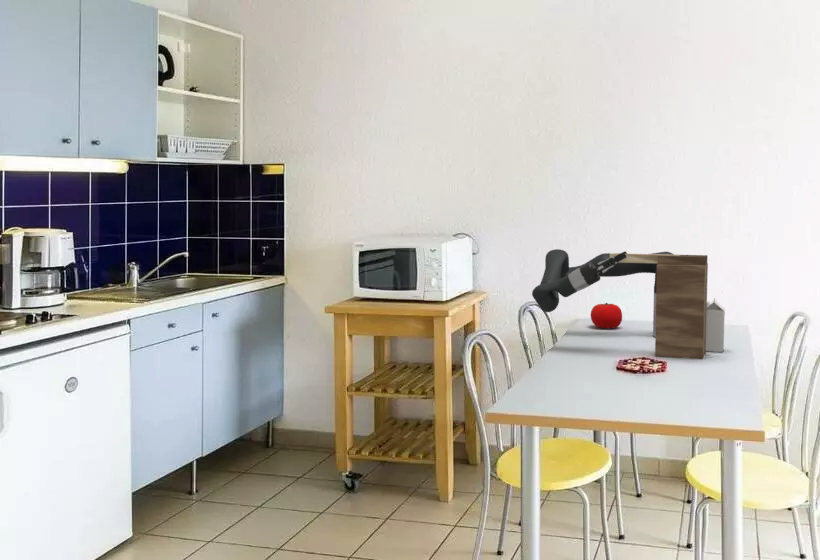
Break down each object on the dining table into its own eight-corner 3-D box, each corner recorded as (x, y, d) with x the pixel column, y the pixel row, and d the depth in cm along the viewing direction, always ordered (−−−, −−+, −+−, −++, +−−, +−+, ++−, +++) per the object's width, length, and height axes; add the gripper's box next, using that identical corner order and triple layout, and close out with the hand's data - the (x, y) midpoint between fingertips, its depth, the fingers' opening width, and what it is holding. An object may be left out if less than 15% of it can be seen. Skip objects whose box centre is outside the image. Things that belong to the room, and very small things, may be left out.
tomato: (625, 330, 406) (625, 305, 405) (593, 330, 406) (593, 305, 405) (618, 325, 420) (618, 300, 419) (587, 325, 420) (588, 301, 419)
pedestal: (659, 350, 357) (661, 253, 354) (705, 353, 352) (708, 254, 348) (655, 356, 346) (657, 256, 343) (702, 359, 341) (705, 257, 337)
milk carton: (723, 349, 360) (725, 297, 358) (723, 352, 353) (724, 299, 351) (703, 348, 362) (704, 296, 360) (702, 351, 355) (703, 298, 353)
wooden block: (611, 261, 356) (611, 253, 356) (679, 263, 348) (680, 254, 347) (609, 262, 353) (609, 253, 353) (679, 263, 345) (679, 255, 344)
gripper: (592, 284, 365) (634, 261, 359) (585, 288, 352) (628, 264, 346) (582, 266, 366) (624, 243, 359) (575, 269, 353) (617, 246, 346)
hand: (625, 254), depth 353 cm, fingers open, 3 cm apart
